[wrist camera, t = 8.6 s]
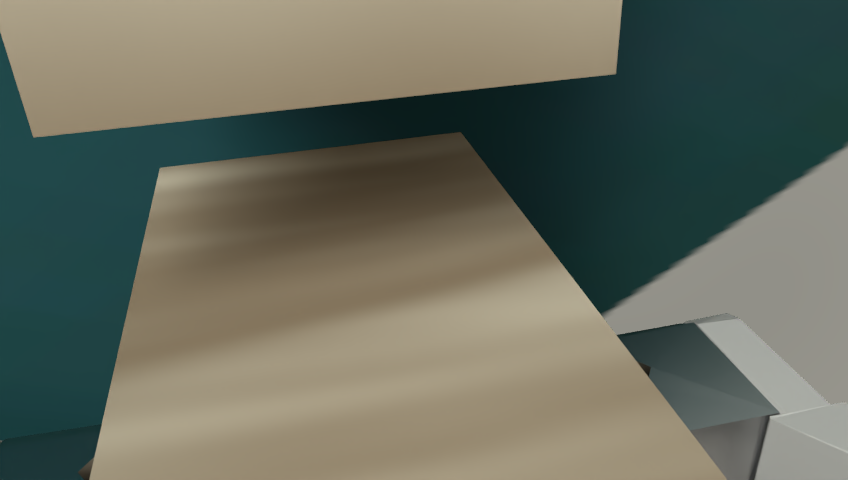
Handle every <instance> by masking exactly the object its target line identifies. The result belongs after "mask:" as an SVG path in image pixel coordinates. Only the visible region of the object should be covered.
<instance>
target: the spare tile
mask: <svg viewBox="0 0 848 480" xmlns="http://www.w3.org/2000/svg"><path fill="white" fill-rule="evenodd" d="M89 480H727V479H726V477H725V476H724V475H723V473H722V472H721V471H720V470H719V468H718V467H717V466H716V464H715V463H714V462H713V460H712V459H711V458H710V457H709V455H708V454H707V453H706V451H705V450H704V449H703V447H702V446H701V445H700V444H699V442H698V441H697V440H696V438H695V437H694V436H693V434H692V433H691V432H690V430H689V429H688V428H687V427H686V425H685V424H684V423H683V421H682V420H681V419H680V417H679V416H678V415H677V414H676V412H675V411H674V410H673V408H672V407H671V406H670V404H669V403H668V402H667V401H666V399H665V398H664V397H663V395H662V394H661V393H660V391H659V390H658V389H657V387H656V386H655V385H654V384H653V382H652V381H651V380H650V378H649V377H648V376H647V374H646V373H645V372H644V371H643V369H642V368H641V367H640V365H639V364H638V363H637V361H636V360H635V359H634V357H633V356H632V355H631V354H630V352H629V351H628V350H627V348H626V347H625V346H624V344H623V343H622V342H621V341H620V339H619V338H618V337H617V335H616V334H615V333H614V332H613V330H612V329H611V328H610V326H609V325H608V324H607V322H606V321H605V320H604V318H603V317H602V316H601V314H600V313H599V312H598V311H597V309H596V308H595V307H594V305H593V304H592V303H591V301H590V300H589V299H588V298H587V296H586V295H585V294H584V292H583V291H582V290H581V288H580V287H579V286H578V285H577V283H576V282H575V281H574V279H573V278H572V277H571V275H570V274H569V273H568V271H567V270H566V269H565V268H564V266H563V265H562V264H561V262H560V261H559V260H558V258H557V257H556V256H555V255H554V253H553V252H552V251H551V249H550V248H549V247H548V245H547V244H546V243H545V241H544V240H543V239H542V238H541V236H540V235H539V234H538V232H537V231H536V230H535V228H534V227H533V226H532V225H531V223H530V222H529V221H528V219H527V218H526V217H525V215H524V214H523V213H522V212H521V210H520V209H519V208H518V206H517V205H516V204H515V202H514V201H513V200H512V198H511V197H510V196H509V195H508V193H507V192H506V191H505V189H504V188H503V187H502V185H501V184H500V183H499V182H498V180H497V179H496V178H495V176H494V175H493V174H492V172H491V171H490V170H489V169H488V167H487V166H486V165H485V163H484V162H483V161H482V159H481V158H480V157H479V155H478V154H477V153H476V152H475V150H474V149H473V148H472V146H471V145H470V144H469V142H468V141H467V140H466V139H465V137H464V136H463V135H462V133H461V132H458V133H449V134H441V135H432V136H424V137H416V138H407V139H399V140H391V141H382V142H374V143H365V144H357V145H349V146H340V147H332V148H324V149H315V150H307V151H298V152H290V153H282V154H273V155H265V156H256V157H248V158H240V159H231V160H223V161H215V162H206V163H198V164H189V165H181V166H173V167H164V168H160V170H159V175H158V179H157V184H156V188H155V192H154V197H153V201H152V206H151V210H150V214H149V219H148V223H147V228H146V232H145V236H144V241H143V245H142V250H141V254H140V258H139V263H138V267H137V272H136V276H135V281H134V285H133V289H132V294H131V298H130V303H129V307H128V311H127V316H126V320H125V325H124V329H123V333H122V338H121V342H120V347H119V351H118V355H117V360H116V364H115V369H114V373H113V378H112V382H111V386H110V391H109V395H108V400H107V404H106V408H105V413H104V417H103V422H102V426H101V430H100V435H99V439H98V444H97V448H96V452H95V457H94V461H93V466H92V470H91V474H90V479H89Z"/></svg>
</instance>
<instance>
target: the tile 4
mask: <svg viewBox="0 0 848 480" xmlns="http://www.w3.org/2000/svg"><path fill="white" fill-rule="evenodd" d="M621 9H622V0H0V32H1V35H2V39H3V42H4V45H5V48H6V51H7V54H8V58H9V61H10V64H11V67H12V70H13V74H14V77H15V80H16V83H17V86H18V90H19V93H20V96H21V99H22V102H23V105H24V109H25V112H26V115H27V118H28V121H29V125H30V128H31V131H32V134H33V137H42V136H51V135H60V134H69V133H78V132H88V131H97V130H106V129H115V128H124V127H134V126H143V125H152V124H161V123H170V122H180V121H189V120H198V119H207V118H216V117H226V116H235V115H244V114H253V113H262V112H271V111H281V110H290V109H299V108H308V107H317V106H327V105H336V104H345V103H354V102H363V101H373V100H382V99H391V98H400V97H409V96H418V95H428V94H437V93H446V92H455V91H464V90H474V89H483V88H492V87H501V86H510V85H520V84H529V83H538V82H547V81H556V80H566V79H575V78H584V77H593V76H602V75H611V74H616V66H617V55H618V44H619V32H620V21H621Z"/></svg>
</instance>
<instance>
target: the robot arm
mask: <svg viewBox="0 0 848 480" xmlns="http://www.w3.org/2000/svg"><path fill="white" fill-rule="evenodd" d="M617 337H618V338H619V339H620V341H621V342H622V343H623V344H624V346H625V347H626V348H627V350H628V351H629V352H630V354H631V355H632V356H633V357H634V359H635V360H636V361H637V363H638V364H639V365H640V367H641V368H642V369H643V371H644V372H645V373H646V374H647V376H648V377H649V378H650V380H651V381H652V382H653V384H654V385H655V386H656V387H657V389H658V390H659V391H660V393H661V394H662V395H663V397H664V398H665V399H666V401H667V402H668V403H669V404H670V406H671V407H672V408H673V410H674V411H675V412H676V414H677V415H678V416H679V417H680V419H681V420H682V421H683V423H684V424H685V425H686V427H687V428H688V429H689V430H690V432H691V433H692V434H693V436H694V437H695V438H696V440H697V441H698V442H699V444H700V445H701V446H702V447H703V449H704V450H705V451H706V453H707V454H708V455H709V457H710V458H711V459H712V460H713V462H714V463H715V464H716V466H717V467H718V468H719V470H720V471H721V472H722V473H723V475H724V476H725V477H726V479H727V480H848V403H845V402H842V403H836V404H829V403H828V402H827V401H826V400H825V399H824V398H823V397H822V396H821V395H820V394H819V393H818V392H816V390H815V389H813V387H811V386H810V385H809V384H808V383H807V382H806V381H805V380H804V379H803V378H802V377H801V376H800V375H799V374H798V373H796V371H794V370H793V369H792V368H791V367H790V366H789V365H788V364H787V363H786V362H785V361H784V360H783V359H782V358H781V357H780V356H779V355H778V354H777V353H775V352H774V351H773V350H772V349H771V348H770V347H769V346H768V345H767V344H766V343H765V342H764V341H763V340H762V339H761V338H760V337H759V336H757V335H756V334H755V333H754V332H753V331H752V330H751V329H750V328H749V327H748V326H747V325H746V324H745V323H744V322H743V321H742V320H740V319H739V318H738V317H735V316H732V315H730V314H727V313H726V314H721V315H716V316H711V317H706V318H701V319H696V320H690V321H686V322H685V323H683V324H675V325H670V326H664V327H659V328H653V329H648V330H642V331H637V332H631V333H625V334H620V335H617ZM101 426H102V424H100V425H93V426H87V427H80V428H74V429H67V430H60V431H54V432H47V433H41V434H34V435H28V436H21V437H14V438H8V439H5V440H4V441H0V480H89V479H90V474H91V470H92V466H93V461H94V457H95V452H96V448H97V444H98V439H99V435H100V430H101Z"/></svg>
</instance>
